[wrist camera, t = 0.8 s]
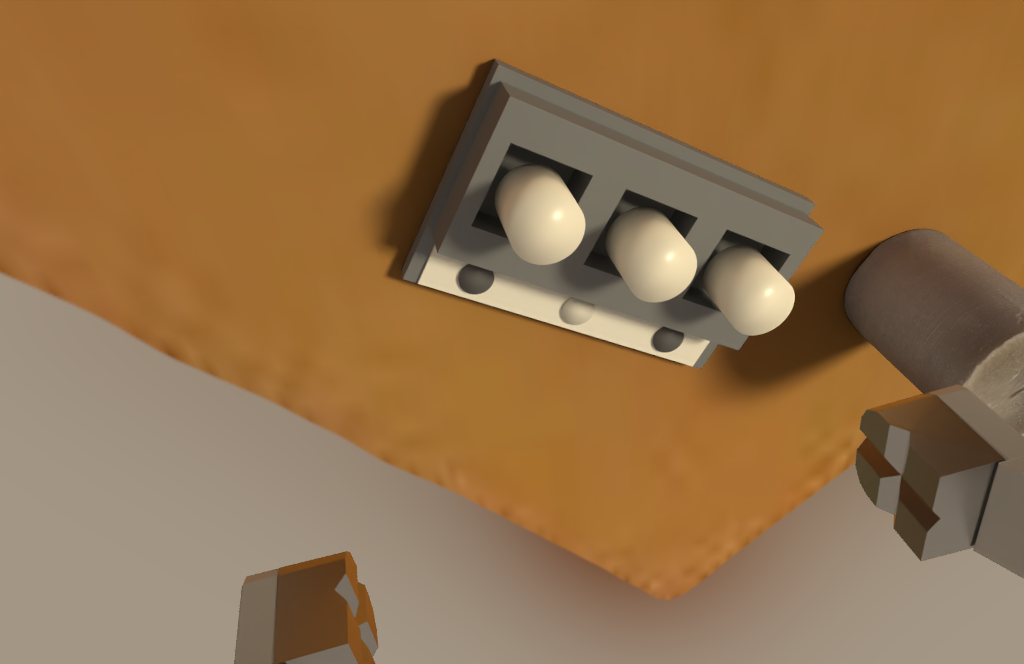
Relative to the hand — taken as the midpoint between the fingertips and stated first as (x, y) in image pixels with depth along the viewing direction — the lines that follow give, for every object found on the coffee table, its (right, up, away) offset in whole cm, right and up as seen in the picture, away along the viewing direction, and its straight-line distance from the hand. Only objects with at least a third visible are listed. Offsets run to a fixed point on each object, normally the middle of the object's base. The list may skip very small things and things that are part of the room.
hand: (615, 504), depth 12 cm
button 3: (+14, +7, +41) cm, 44 cm away
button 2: (+7, +9, +38) cm, 40 cm away
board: (+5, +10, +42) cm, 43 cm away
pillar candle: (+29, +7, +50) cm, 58 cm away
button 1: (-1, +11, +35) cm, 37 cm away
